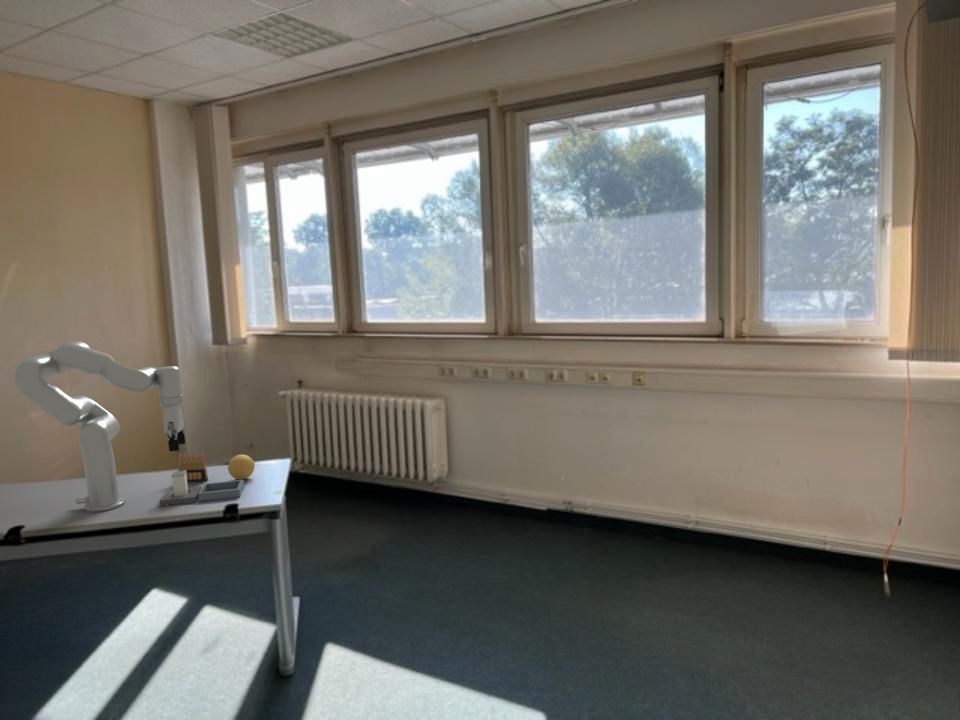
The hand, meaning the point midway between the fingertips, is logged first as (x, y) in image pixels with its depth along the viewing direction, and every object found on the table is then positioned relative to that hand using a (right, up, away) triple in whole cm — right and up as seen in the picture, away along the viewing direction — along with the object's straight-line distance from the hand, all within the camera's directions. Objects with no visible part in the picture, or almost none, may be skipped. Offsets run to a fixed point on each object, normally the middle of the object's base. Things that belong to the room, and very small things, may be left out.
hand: (177, 447), depth 236 cm
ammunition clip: (-4, -17, +23) cm, 29 cm away
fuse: (0, -19, +2) cm, 19 cm away
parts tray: (+14, -18, +5) cm, 24 cm away
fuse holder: (0, -19, +2) cm, 19 cm away
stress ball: (+15, -16, +23) cm, 32 cm away
